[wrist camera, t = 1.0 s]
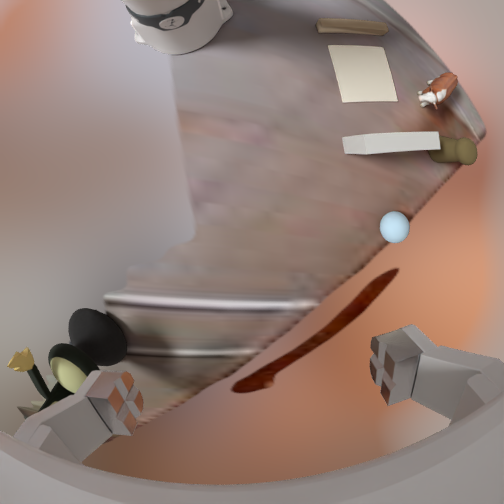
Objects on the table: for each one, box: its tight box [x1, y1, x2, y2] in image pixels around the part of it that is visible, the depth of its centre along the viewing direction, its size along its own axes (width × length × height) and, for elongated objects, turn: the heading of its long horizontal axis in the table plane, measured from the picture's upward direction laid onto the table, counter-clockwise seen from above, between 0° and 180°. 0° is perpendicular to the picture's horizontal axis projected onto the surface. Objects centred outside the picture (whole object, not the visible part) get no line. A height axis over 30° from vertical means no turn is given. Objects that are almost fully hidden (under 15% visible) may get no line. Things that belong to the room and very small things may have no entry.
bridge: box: [342, 132, 440, 154], centre depth 39 cm, size 3×15×10 cm, turn 102°
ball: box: [380, 211, 410, 243], centre depth 46 cm, size 6×6×6 cm
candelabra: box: [7, 308, 127, 412], centre depth 37 cm, size 19×22×45 cm
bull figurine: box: [417, 73, 458, 109], centre depth 35 cm, size 4×13×8 cm, turn 131°
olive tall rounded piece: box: [428, 136, 477, 165], centre depth 38 cm, size 6×6×11 cm
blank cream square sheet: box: [328, 45, 398, 103], centre depth 39 cm, size 12×12×1 cm
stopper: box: [316, 18, 389, 36], centre depth 34 cm, size 2×14×3 cm, turn 102°
